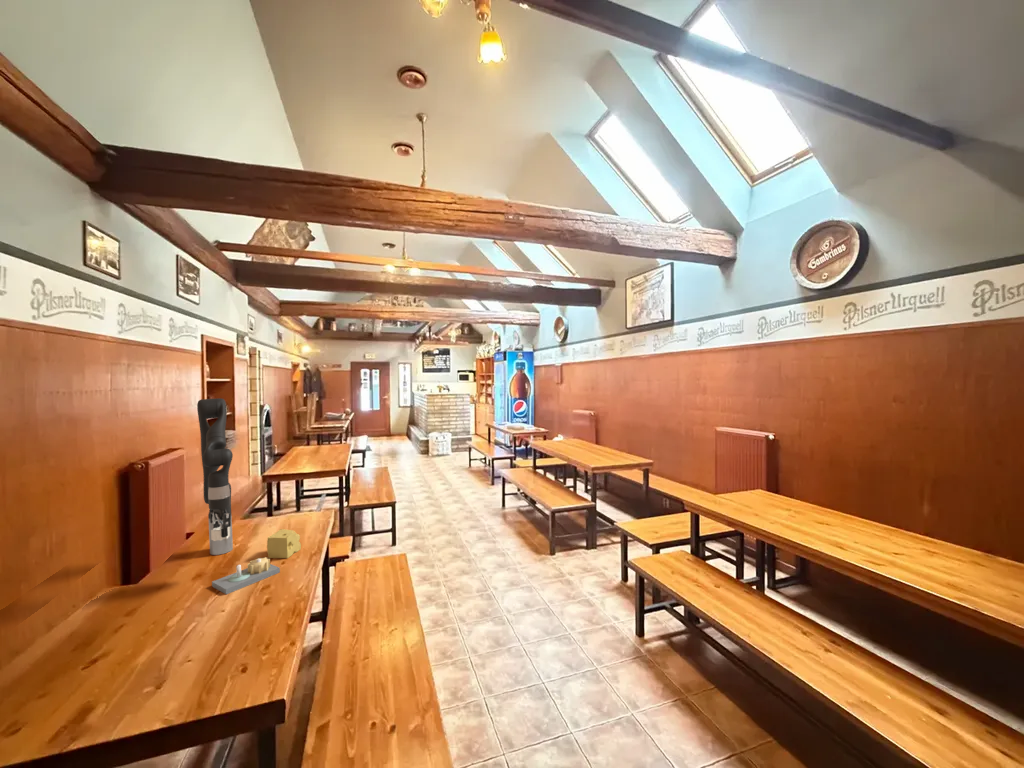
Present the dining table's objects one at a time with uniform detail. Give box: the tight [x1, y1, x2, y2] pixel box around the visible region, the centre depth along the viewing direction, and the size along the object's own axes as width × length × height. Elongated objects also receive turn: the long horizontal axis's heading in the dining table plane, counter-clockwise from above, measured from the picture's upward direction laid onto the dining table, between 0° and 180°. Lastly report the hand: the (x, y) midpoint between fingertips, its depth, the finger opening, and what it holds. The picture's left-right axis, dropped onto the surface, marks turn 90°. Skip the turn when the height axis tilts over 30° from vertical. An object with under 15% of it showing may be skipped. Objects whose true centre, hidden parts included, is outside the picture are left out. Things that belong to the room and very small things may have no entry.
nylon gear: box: [211, 526, 230, 541], centre depth 180 cm, size 6×6×4 cm
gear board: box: [211, 556, 281, 595], centre depth 177 cm, size 12×21×7 cm, turn 148°
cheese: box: [266, 528, 302, 559], centre depth 202 cm, size 10×11×10 cm
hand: (220, 535), depth 180 cm, fingers closed on nylon gear, 6 cm apart
